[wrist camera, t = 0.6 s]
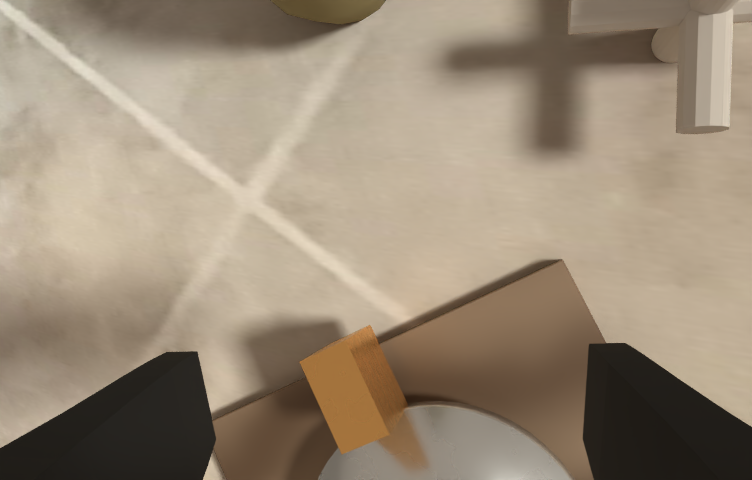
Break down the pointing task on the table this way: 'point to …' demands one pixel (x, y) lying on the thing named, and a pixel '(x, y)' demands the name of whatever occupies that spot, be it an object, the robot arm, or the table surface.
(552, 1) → the table surface
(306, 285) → the table surface
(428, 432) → the disc with block handle
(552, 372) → the flat brown board
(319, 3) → the squeeze bottle
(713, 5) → the pipe connector
